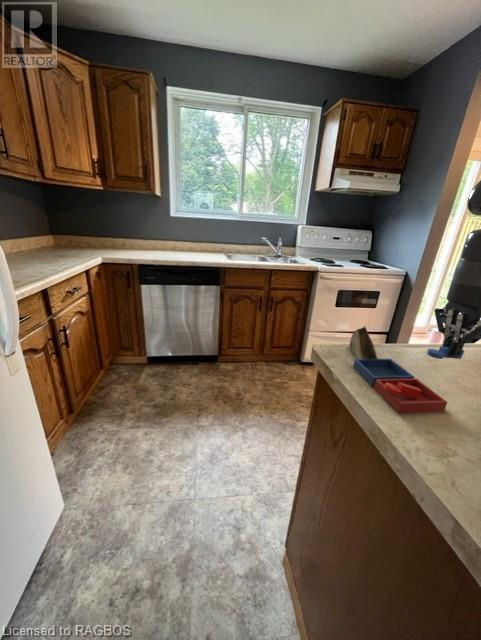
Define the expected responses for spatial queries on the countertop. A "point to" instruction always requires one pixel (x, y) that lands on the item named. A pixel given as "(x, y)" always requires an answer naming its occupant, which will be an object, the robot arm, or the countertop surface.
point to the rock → (362, 345)
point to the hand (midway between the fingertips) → (449, 354)
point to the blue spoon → (442, 353)
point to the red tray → (404, 404)
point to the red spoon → (403, 390)
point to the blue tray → (380, 370)
